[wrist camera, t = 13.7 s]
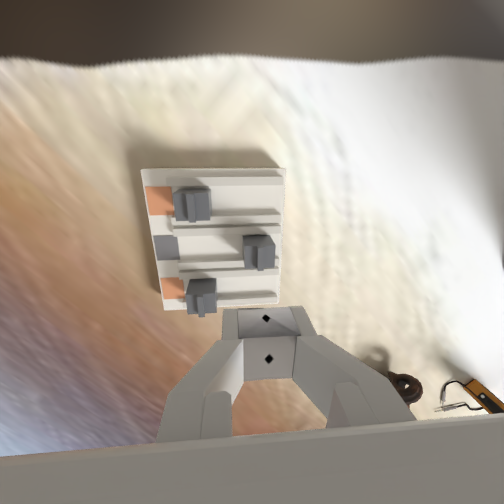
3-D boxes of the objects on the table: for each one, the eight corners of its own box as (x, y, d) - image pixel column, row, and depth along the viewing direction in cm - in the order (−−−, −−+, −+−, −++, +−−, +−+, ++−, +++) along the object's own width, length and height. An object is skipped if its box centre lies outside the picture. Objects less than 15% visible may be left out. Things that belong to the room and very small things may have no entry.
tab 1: (210, 188, 23) (207, 194, 19) (212, 212, 24) (209, 222, 20) (179, 188, 23) (170, 194, 19) (182, 213, 24) (174, 223, 20)
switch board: (280, 167, 25) (288, 169, 22) (275, 292, 31) (280, 307, 28) (148, 168, 24) (137, 169, 21) (169, 298, 30) (162, 314, 27)
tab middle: (269, 234, 25) (276, 247, 22) (269, 254, 26) (275, 270, 23) (242, 235, 25) (245, 248, 21) (242, 255, 26) (245, 271, 22)
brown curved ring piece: (377, 404, 44) (379, 450, 37) (336, 370, 45) (331, 407, 38) (433, 377, 38) (449, 426, 31) (385, 338, 39) (389, 376, 32)
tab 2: (216, 277, 27) (215, 296, 23) (217, 295, 28) (216, 316, 24) (189, 279, 26) (184, 298, 23) (191, 296, 27) (186, 318, 24)
